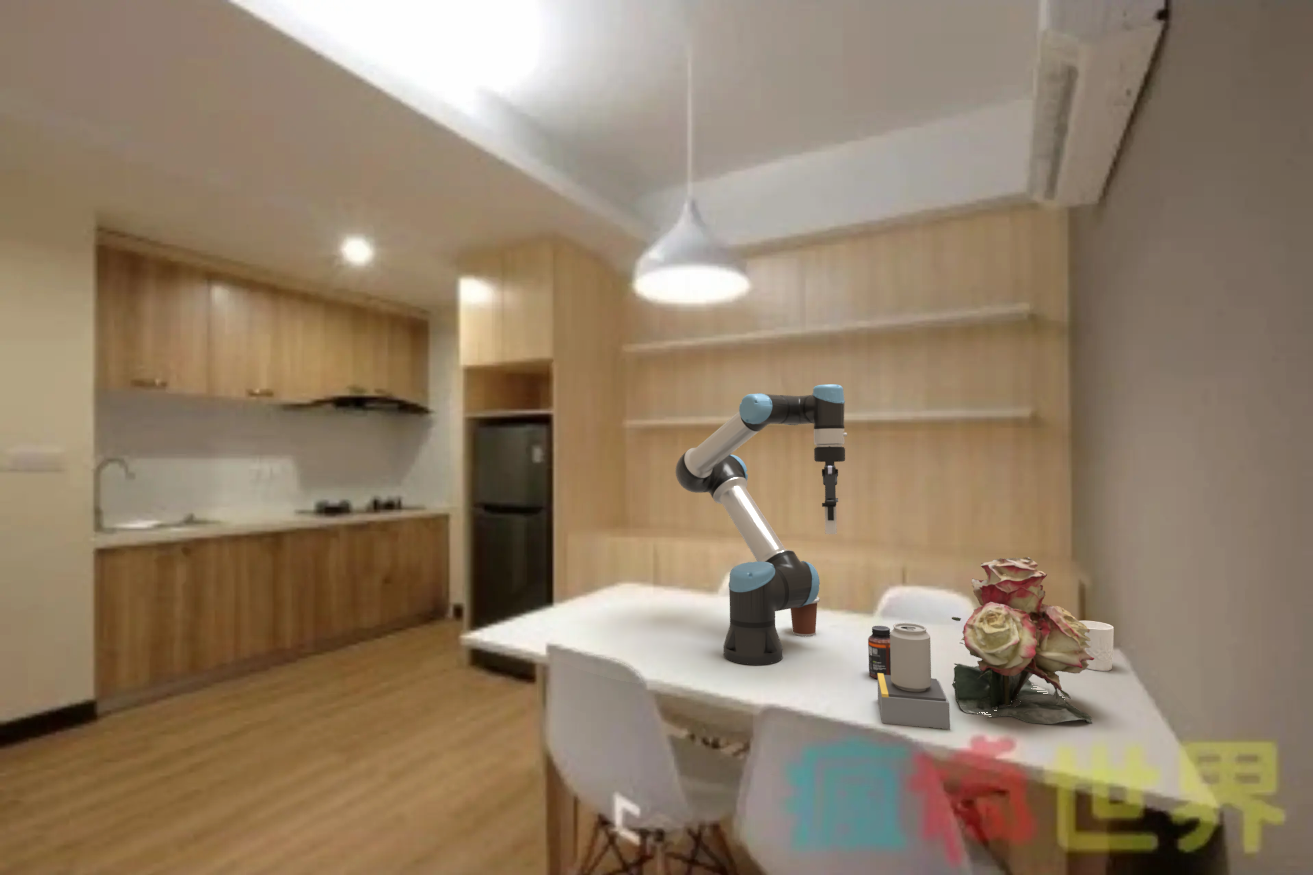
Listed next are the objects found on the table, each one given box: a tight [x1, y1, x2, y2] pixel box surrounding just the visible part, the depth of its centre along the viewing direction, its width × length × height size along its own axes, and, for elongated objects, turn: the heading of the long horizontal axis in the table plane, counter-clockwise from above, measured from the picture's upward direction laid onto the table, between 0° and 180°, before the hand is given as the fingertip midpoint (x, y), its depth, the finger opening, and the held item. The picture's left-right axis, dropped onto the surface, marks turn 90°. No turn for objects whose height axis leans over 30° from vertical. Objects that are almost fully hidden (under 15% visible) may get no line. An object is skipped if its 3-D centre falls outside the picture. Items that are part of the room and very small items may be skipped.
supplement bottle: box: [867, 625, 891, 680], centre depth 149 cm, size 6×6×11 cm
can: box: [890, 622, 932, 692], centre depth 127 cm, size 8×8×12 cm
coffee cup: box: [790, 596, 821, 637], centre depth 185 cm, size 9×9×12 cm
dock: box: [877, 673, 951, 730], centre depth 127 cm, size 12×12×6 cm
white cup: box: [1078, 620, 1115, 672], centre depth 154 cm, size 8×8×10 cm
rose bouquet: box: [951, 556, 1094, 725], centre depth 133 cm, size 26×29×30 cm
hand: (830, 530), depth 160 cm, fingers open, 13 cm apart
